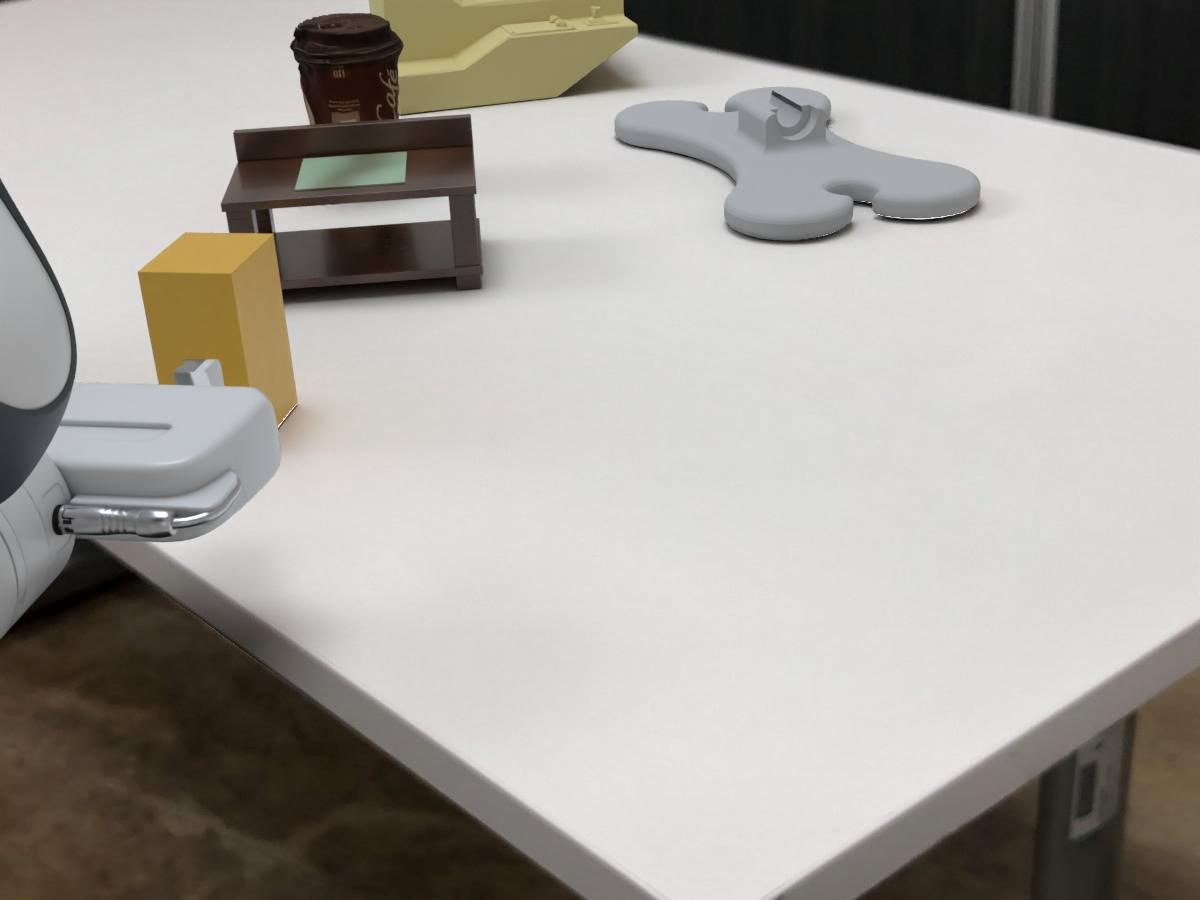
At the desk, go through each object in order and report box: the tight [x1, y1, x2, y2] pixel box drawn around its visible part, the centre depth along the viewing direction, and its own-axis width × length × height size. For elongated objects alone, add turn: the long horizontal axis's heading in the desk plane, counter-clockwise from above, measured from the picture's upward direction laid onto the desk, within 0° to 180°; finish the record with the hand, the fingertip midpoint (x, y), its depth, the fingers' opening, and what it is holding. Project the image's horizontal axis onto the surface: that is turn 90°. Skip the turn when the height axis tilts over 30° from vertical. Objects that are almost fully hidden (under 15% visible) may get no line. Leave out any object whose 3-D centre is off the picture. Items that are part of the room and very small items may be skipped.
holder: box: [614, 86, 981, 241], centre depth 122 cm, size 19×34×5 cm, turn 18°
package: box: [137, 231, 299, 426], centre depth 83 cm, size 5×6×10 cm
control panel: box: [368, 0, 639, 115], centre depth 151 cm, size 24×16×20 cm
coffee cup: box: [289, 12, 404, 125], centre depth 120 cm, size 9×8×13 cm
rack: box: [220, 113, 484, 291], centre depth 104 cm, size 16×10×9 cm, turn 95°
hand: (109, 371), depth 71 cm, fingers open, 8 cm apart
